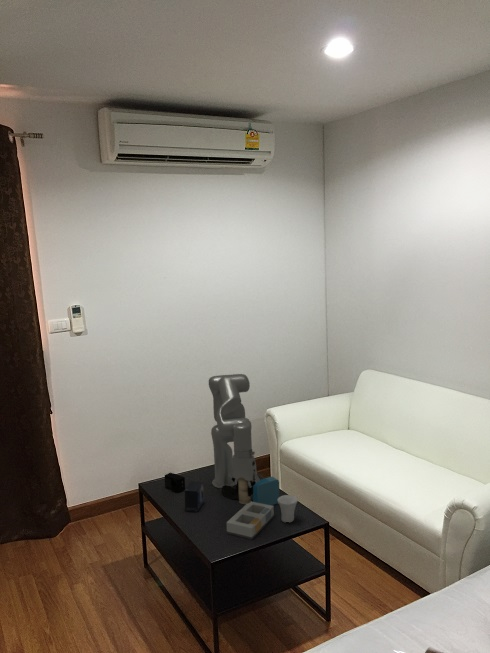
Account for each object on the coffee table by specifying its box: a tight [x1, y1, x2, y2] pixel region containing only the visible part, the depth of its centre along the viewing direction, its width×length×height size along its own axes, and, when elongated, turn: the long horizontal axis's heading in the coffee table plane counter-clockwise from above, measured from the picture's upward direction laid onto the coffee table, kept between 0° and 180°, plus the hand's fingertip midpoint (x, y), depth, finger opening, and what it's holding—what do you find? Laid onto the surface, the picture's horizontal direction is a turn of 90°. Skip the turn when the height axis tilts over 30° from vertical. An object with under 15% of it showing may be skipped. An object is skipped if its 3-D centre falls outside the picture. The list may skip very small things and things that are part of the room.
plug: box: [238, 478, 252, 505], centre depth 226 cm, size 5×5×12 cm
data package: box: [252, 476, 280, 506], centre depth 251 cm, size 12×4×12 cm, turn 120°
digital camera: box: [164, 472, 186, 494], centre depth 271 cm, size 10×5×7 cm, turn 51°
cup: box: [277, 494, 299, 523], centre depth 236 cm, size 9×9×10 cm
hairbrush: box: [220, 484, 253, 502], centre depth 258 cm, size 8×4×25 cm
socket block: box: [226, 501, 275, 540], centre depth 233 cm, size 22×12×5 cm, turn 152°
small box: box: [184, 480, 205, 513], centre depth 251 cm, size 11×6×10 cm, turn 168°
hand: (244, 493), depth 226 cm, fingers closed on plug, 4 cm apart
